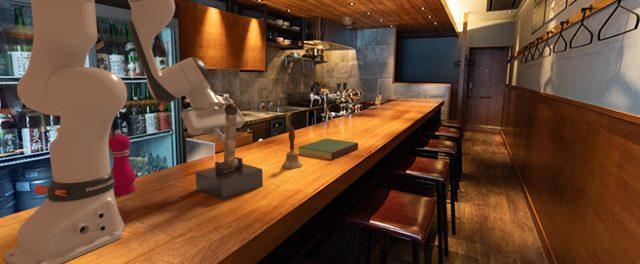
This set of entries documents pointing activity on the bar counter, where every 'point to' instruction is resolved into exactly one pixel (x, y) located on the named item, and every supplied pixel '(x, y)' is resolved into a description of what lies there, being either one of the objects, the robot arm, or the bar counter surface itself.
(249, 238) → the bar counter surface
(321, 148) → the hardcover book
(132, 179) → the pepper mill
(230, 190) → the base
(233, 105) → the lever
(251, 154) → the bar counter surface
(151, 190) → the bar counter surface
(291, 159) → the hand bell
